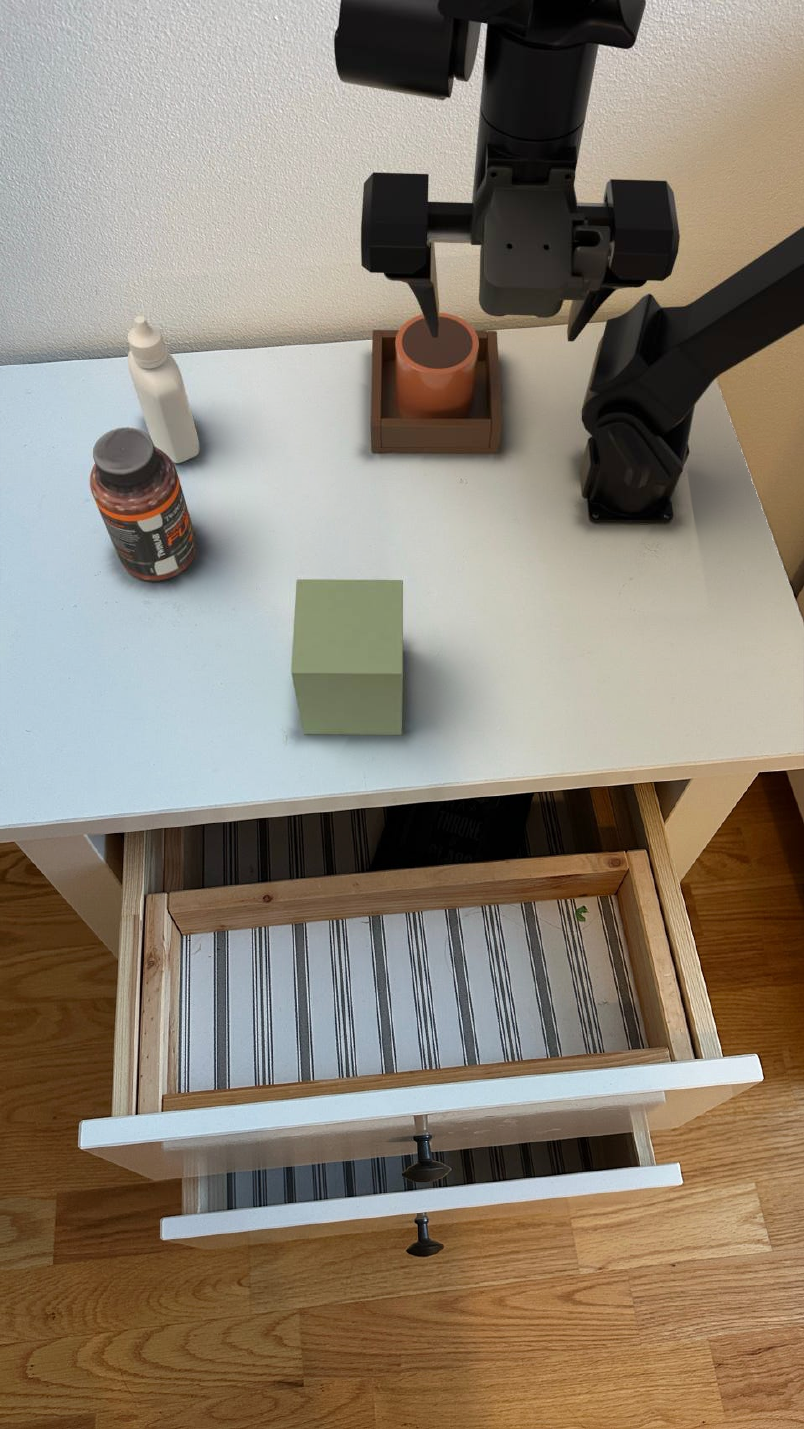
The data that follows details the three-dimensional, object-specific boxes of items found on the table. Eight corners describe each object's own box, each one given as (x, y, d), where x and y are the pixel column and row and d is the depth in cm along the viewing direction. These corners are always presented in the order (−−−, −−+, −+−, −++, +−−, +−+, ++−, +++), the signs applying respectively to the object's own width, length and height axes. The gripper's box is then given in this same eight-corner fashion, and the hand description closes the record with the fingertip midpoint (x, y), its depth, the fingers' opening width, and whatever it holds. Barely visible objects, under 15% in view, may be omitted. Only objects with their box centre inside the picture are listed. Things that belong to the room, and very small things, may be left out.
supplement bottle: (194, 585, 73) (162, 487, 63) (114, 584, 73) (69, 485, 63) (202, 520, 75) (173, 416, 65) (125, 518, 75) (84, 414, 65)
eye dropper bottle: (204, 411, 80) (174, 291, 69) (199, 465, 78) (168, 349, 67) (150, 412, 80) (112, 291, 69) (144, 466, 78) (103, 349, 67)
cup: (472, 370, 82) (477, 312, 76) (474, 430, 79) (480, 373, 73) (395, 370, 82) (395, 311, 76) (394, 429, 79) (394, 372, 73)
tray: (493, 359, 83) (497, 330, 80) (498, 453, 78) (502, 426, 76) (373, 358, 83) (372, 329, 80) (371, 452, 78) (370, 425, 76)
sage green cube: (402, 649, 71) (403, 579, 62) (401, 735, 68) (402, 673, 60) (307, 648, 71) (296, 579, 62) (303, 734, 68) (290, 672, 59)
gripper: (352, 203, 49) (360, 422, 63) (724, 214, 49) (649, 430, 63) (362, 67, 54) (367, 299, 68) (700, 77, 54) (635, 306, 68)
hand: (502, 335), depth 67 cm, fingers open, 9 cm apart
